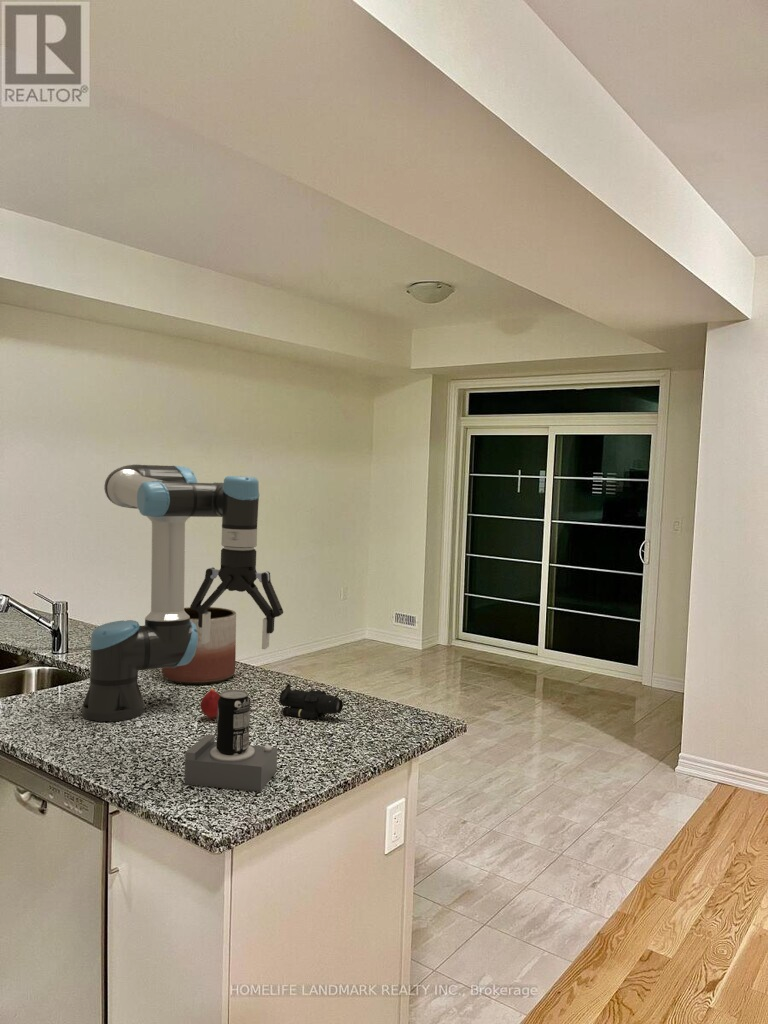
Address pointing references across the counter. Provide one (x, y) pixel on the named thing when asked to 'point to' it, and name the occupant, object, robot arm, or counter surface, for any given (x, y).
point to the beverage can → (233, 722)
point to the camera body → (229, 766)
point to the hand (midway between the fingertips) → (235, 645)
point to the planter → (209, 651)
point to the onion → (210, 704)
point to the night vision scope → (308, 703)
